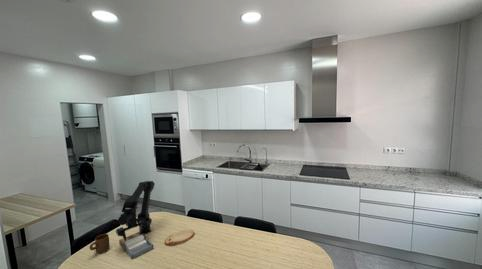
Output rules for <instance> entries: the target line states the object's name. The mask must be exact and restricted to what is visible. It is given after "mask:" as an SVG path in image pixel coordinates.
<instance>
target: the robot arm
mask: <svg viewBox="0 0 482 269" xmlns="http://www.w3.org/2000/svg"><path fill="white" fill-rule="evenodd" d="M154 188H155V182H154V181H153V180H146V181H140V182H139V183H138V185H137V187H136V188H135V189H134V191H133V193H132V195H130V196H129V197H128V198H126V200H125V201H124V203H123V206H122V208H121V214H120V216H119V217H118V219H117V223H118V224H119V225H120V226H122V227H119V228H116V229H115V234H116V235H117V236H118V237H122V239H123V238H124V240H125V241H126V237H127V235H126V232H127V231H129V230H132V229H135V228H137V227H138V228H139V231H138V232H139V235H141V234H144V235H145V234H148V233H150V232H152V229H151V225H152V222H153V221H152V220H153V219H152V218H150V212H149V207H150V199H151V194H152V191H153V190H154ZM142 194H143V196H142V197H143V198H142V204H141V210H140V212H139V213H138V214H137V209H138V204H139V199H140V197H141V195H142ZM124 225H125V226H126V227H123V226H124Z"/></svg>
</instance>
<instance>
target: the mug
mask: <svg viewBox="0 0 482 269" xmlns="http://www.w3.org/2000/svg"><path fill="white" fill-rule="evenodd" d="M109 236H110V235H109V234H108V233H103V234H99V235H97V236H96V237H95V239H94V241H93V242H92V243H91V244H89V250H90V251H95V252H96V254H100V255H101V254H103V253H105V252H108V251H109V249H110V237H109ZM93 246H94V247H93Z"/></svg>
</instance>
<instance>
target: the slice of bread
mask: <svg viewBox="0 0 482 269" xmlns="http://www.w3.org/2000/svg"><path fill="white" fill-rule="evenodd" d="M194 237H195V231H194V230H193V229H188V230H187V229H186V230H182V231H179V232H175V233H171V234H169V235H168V236H167V237H166V238H165V240H164V246H166V247H167V246H168V247H169V246H172V247H174V246H179V245H182V244H184V243H186V242H188V241H190V240H191V239H192V238H194Z"/></svg>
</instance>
